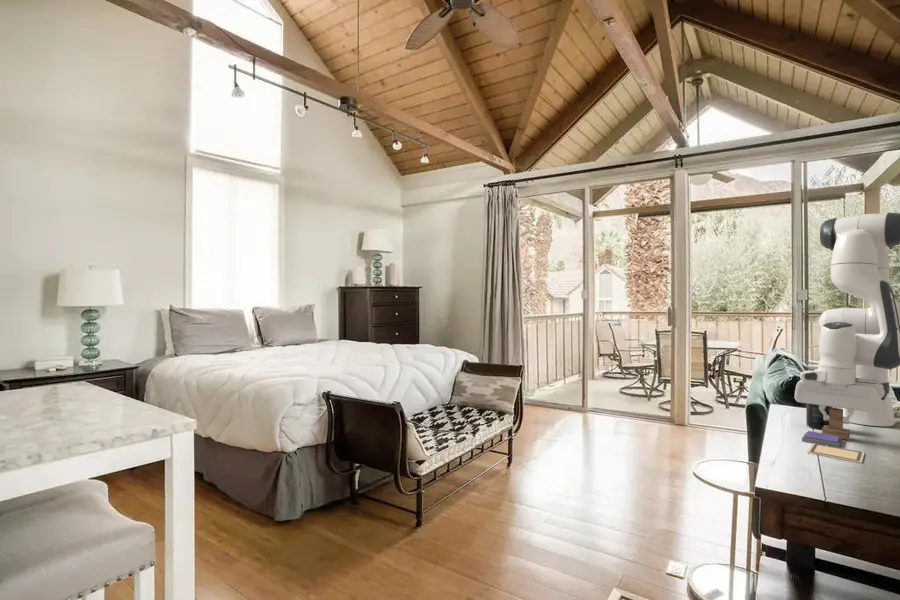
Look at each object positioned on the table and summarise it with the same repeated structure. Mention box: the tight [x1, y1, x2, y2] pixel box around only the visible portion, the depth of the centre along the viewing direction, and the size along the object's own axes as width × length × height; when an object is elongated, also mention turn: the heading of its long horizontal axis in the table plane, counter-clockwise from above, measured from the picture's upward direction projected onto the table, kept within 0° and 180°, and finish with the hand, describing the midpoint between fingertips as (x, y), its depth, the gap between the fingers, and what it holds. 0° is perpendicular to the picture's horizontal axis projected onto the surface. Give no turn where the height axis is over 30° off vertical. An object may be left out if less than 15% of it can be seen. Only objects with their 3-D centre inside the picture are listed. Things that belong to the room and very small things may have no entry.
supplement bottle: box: [805, 403, 833, 431], centre depth 151 cm, size 7×7×12 cm
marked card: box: [807, 443, 865, 464], centre depth 125 cm, size 11×11×1 cm
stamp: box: [821, 407, 851, 442], centre depth 140 cm, size 5×6×9 cm
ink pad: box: [801, 430, 843, 448], centre depth 136 cm, size 9×8×2 cm
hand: (836, 421), depth 140 cm, fingers closed on stamp, 3 cm apart
